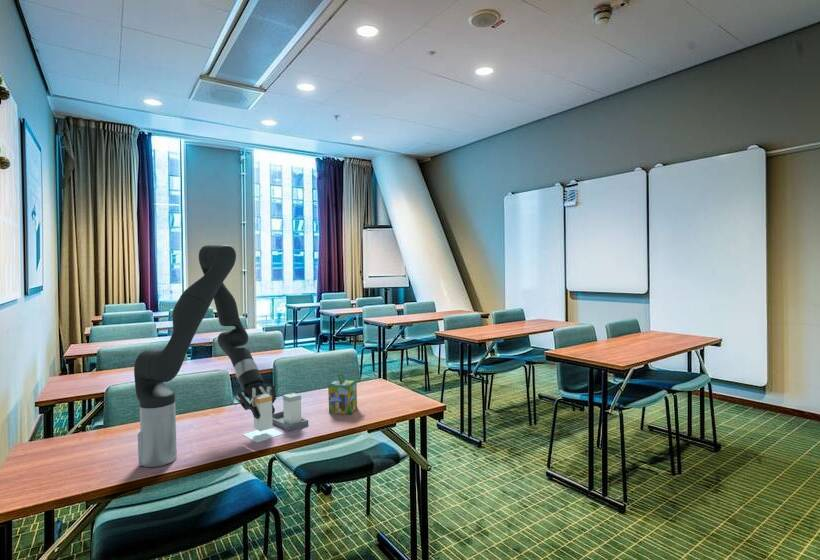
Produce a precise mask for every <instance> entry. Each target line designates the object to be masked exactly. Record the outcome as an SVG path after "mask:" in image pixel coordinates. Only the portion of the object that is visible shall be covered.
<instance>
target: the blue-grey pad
mask: <svg viewBox="0 0 820 560" xmlns="http://www.w3.org/2000/svg"><path fill="white" fill-rule="evenodd" d="M284 434H285V433H283V432H282V431H280V430H278V429H276V428H270V429H267V430H264V431H259V430H257V429H255V430H253V431H250V432H246V433H243V434H242V436H244V437H245V438H247V439H249V440H251V441H252V442H255V443H256V444H257V443H260V442H264V441H266V440H269V439H272V438H275V437H279V436H283V435H284Z"/></svg>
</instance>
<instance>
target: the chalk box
mask: <svg viewBox="0 0 820 560" xmlns="http://www.w3.org/2000/svg"><path fill="white" fill-rule="evenodd" d="M337 377H338V379H334V380H333V381H332V382H330V383H329V384H328V385H327V386H328V387H327V389H328V414H335V415H336V414H338V415H352V413H354V411H356V409H358V392H357V391H358V389H357V384H358V382H357V380H352V379H350V380H349V379H345V378H344V373H343V372H341V373H340V374H338V376H337Z"/></svg>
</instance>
